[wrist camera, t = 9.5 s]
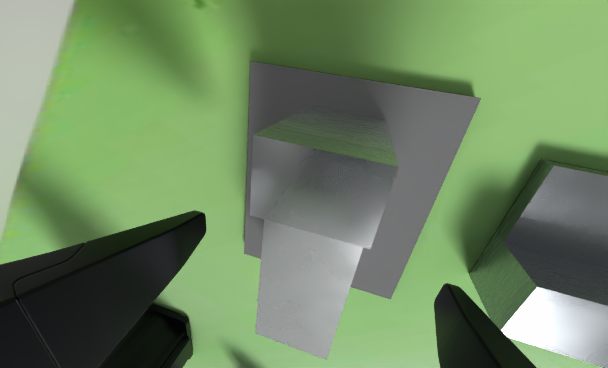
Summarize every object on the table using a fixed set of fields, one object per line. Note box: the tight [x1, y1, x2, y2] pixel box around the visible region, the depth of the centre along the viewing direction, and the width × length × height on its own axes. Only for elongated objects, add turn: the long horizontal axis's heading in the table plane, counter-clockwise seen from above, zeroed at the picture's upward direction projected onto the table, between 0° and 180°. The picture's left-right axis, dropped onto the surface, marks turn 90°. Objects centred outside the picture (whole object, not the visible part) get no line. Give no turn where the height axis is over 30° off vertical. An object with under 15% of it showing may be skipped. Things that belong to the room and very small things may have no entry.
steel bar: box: [250, 106, 399, 360], centre depth 11 cm, size 4×10×6 cm, turn 172°
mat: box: [244, 62, 481, 299], centre depth 13 cm, size 10×12×1 cm
